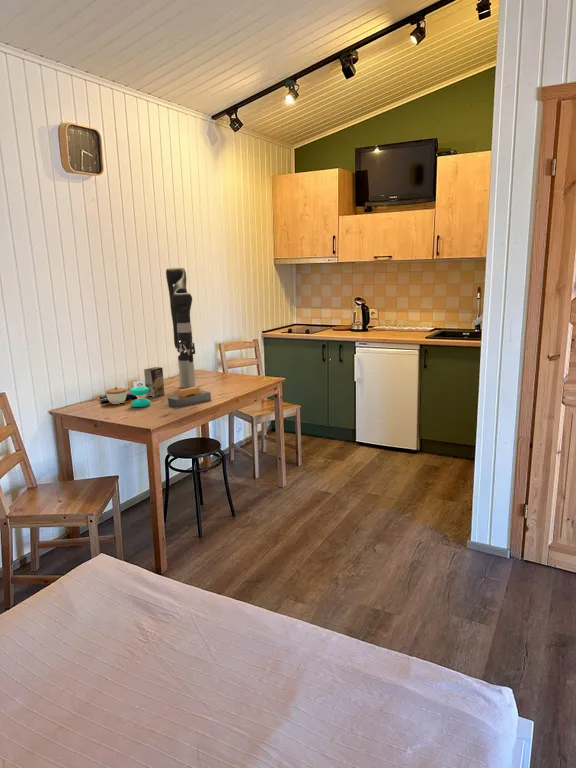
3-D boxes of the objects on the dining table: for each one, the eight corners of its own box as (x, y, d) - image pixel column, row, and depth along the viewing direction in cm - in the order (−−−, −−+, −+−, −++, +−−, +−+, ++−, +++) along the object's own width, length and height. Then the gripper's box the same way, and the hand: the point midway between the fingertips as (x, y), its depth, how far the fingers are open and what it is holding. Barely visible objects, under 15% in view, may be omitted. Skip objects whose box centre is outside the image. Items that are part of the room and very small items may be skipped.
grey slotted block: (168, 405, 290) (167, 397, 289) (203, 398, 304) (202, 390, 303) (176, 408, 284) (175, 399, 283) (211, 400, 298) (210, 392, 297)
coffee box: (154, 397, 311) (151, 370, 308) (146, 396, 314) (143, 369, 311) (165, 394, 319) (162, 367, 315) (156, 393, 322) (154, 366, 318)
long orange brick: (179, 403, 292) (178, 389, 290) (196, 399, 299) (195, 386, 297) (182, 404, 289) (181, 390, 288) (200, 400, 296) (199, 387, 295)
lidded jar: (111, 401, 305) (109, 385, 303) (129, 400, 305) (128, 384, 303) (104, 406, 295) (102, 389, 293) (124, 405, 295) (122, 388, 293)
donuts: (134, 390, 283) (126, 388, 291) (136, 409, 285) (128, 406, 293) (152, 387, 290) (143, 385, 297) (153, 405, 292) (144, 402, 299)
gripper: (171, 331, 289) (174, 360, 293) (185, 332, 279) (187, 363, 282) (183, 329, 294) (186, 358, 298) (197, 331, 284) (200, 361, 287)
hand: (186, 361), depth 290 cm, fingers open, 8 cm apart
